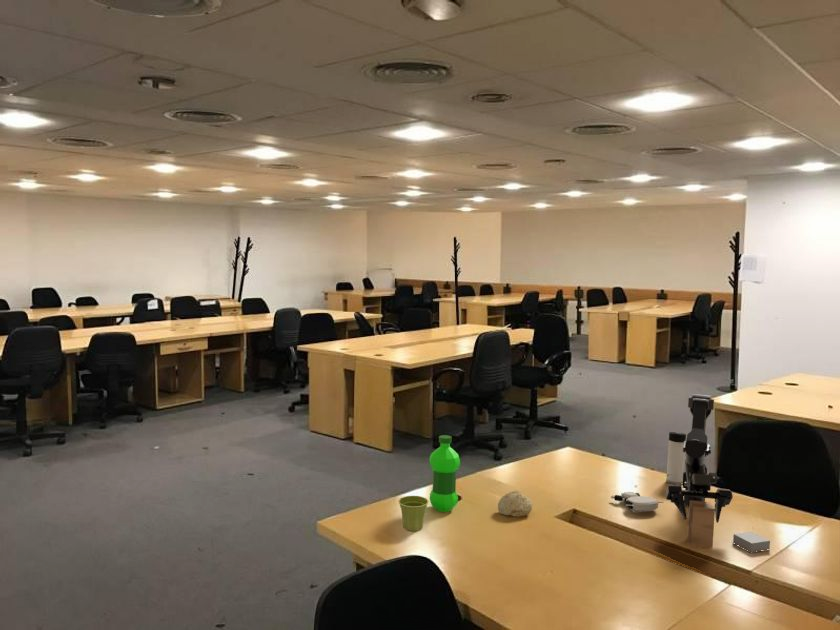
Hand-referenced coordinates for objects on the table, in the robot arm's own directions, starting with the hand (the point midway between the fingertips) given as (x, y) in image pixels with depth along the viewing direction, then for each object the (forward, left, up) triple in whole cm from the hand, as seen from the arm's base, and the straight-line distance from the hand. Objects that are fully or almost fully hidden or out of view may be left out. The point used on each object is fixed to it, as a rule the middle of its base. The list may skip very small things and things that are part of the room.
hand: (701, 520), depth 203 cm
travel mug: (-31, -49, -7) cm, 58 cm away
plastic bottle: (+66, -48, -7) cm, 81 cm away
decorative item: (+43, -38, -8) cm, 58 cm away
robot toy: (0, -31, -8) cm, 32 cm away
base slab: (-13, +6, -7) cm, 17 cm away
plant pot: (+81, -36, -7) cm, 88 cm away
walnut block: (0, -1, -7) cm, 7 cm away
